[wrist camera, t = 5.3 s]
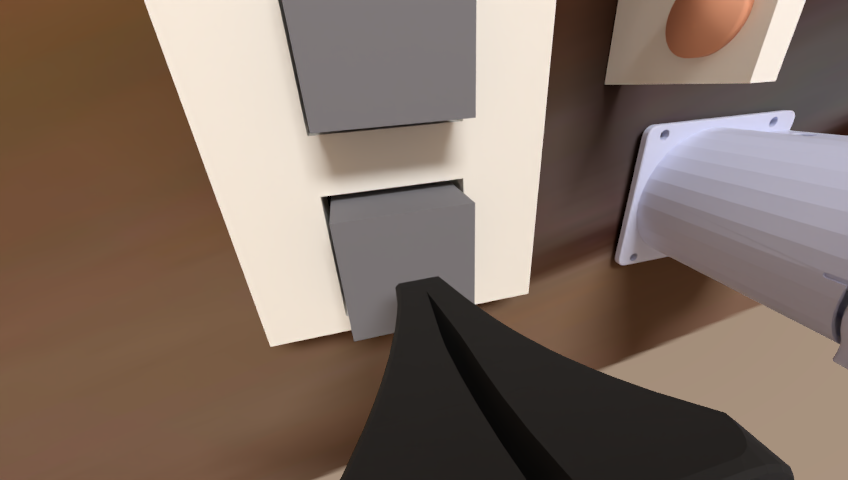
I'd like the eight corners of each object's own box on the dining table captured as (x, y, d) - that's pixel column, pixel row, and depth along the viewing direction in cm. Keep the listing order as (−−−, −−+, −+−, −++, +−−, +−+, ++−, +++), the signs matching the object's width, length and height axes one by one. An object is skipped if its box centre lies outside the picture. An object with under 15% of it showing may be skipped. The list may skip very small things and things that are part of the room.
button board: (544, -458, 8) (618, -651, 6) (505, 268, 18) (528, 293, 16) (-18, -602, 6) (-214, -980, 4) (280, 310, 16) (270, 346, 14)
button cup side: (449, 181, 13) (475, 202, 11) (452, 278, 16) (474, 315, 13) (331, 196, 13) (329, 224, 10) (351, 297, 15) (354, 341, 12)
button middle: (442, -53, 10) (476, -100, 8) (446, 111, 12) (475, 117, 10) (281, -54, 9) (259, -108, 7) (316, 122, 11) (310, 133, 9)
